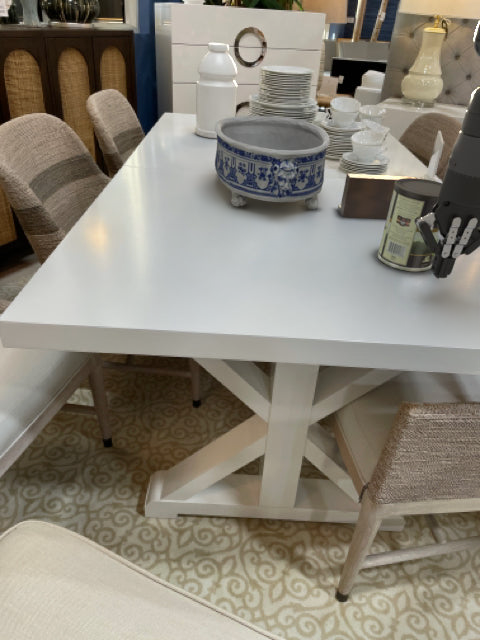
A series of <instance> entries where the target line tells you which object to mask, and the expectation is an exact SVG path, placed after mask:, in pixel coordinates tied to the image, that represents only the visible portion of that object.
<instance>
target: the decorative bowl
mask: <svg viewBox="0 0 480 640" xmlns="http://www.w3.org/2000/svg"><path fill="white" fill-rule="evenodd" d="M215 132H216V134H217V139H216V151H215V152H216V153H215V158H214V168H215V171H216V174H217V177H218V179H219V181H220V182H221V183H222V184H223V185H224V186H225V187H227V189H228V190H230V192H231V199H230V201H231V205H232V206H234V207H237V208H238V207H244V205H246V204H247V199H246V198H250V199H254V200H259V201H264V202H273V203H292V202H300V201H304V202H303V204H304V207H307V208H308V209H309V210H310V209H311V210H317V209H318V208H319V204H320V203H319V199H318V194H319V193H321V192H322V189H323V185H324V182H325V168H326V167H325V166H326V156H327V148H328V147H329V146H330V143H331V140H330V136H329V134H328V133H327V131H326V130H325V129H324V128H322V127H321V126H319V125H317V124H314V123H312V122H309V121H306V120H302V119H299V118H298V119H297V118H293V117H283V116H267V115H237V116H235V117H228V118H224V119H221V120H219V121H218V122H217V123H216V125H215Z"/></svg>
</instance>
